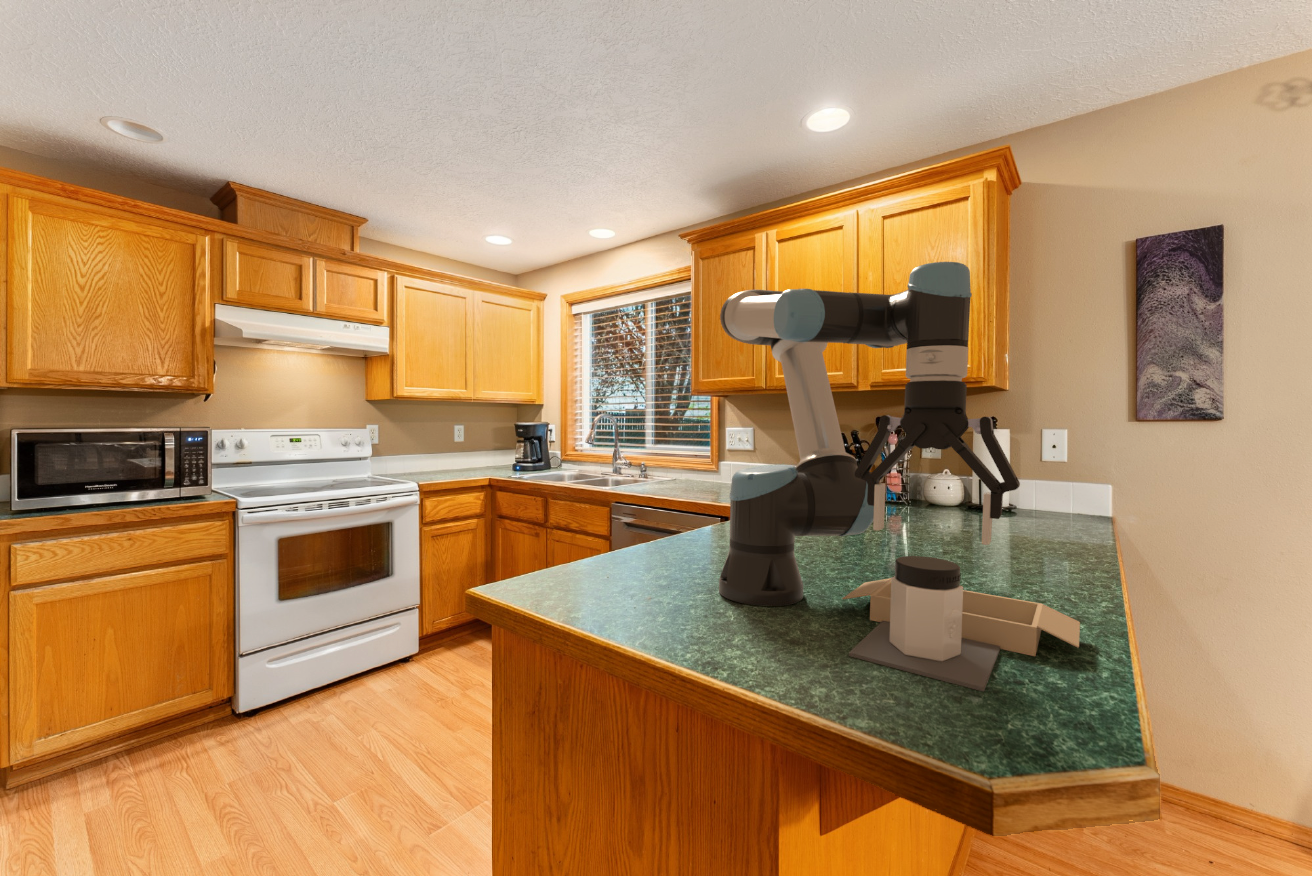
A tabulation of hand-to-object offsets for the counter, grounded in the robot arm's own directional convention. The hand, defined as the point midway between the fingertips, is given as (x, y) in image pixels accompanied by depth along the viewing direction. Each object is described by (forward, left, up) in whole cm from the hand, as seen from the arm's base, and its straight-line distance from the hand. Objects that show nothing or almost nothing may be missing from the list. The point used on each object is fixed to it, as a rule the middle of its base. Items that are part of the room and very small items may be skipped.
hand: (929, 535), depth 79 cm
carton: (+1, +15, -16) cm, 22 cm away
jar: (0, 0, -16) cm, 16 cm away
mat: (0, 0, -16) cm, 16 cm away
